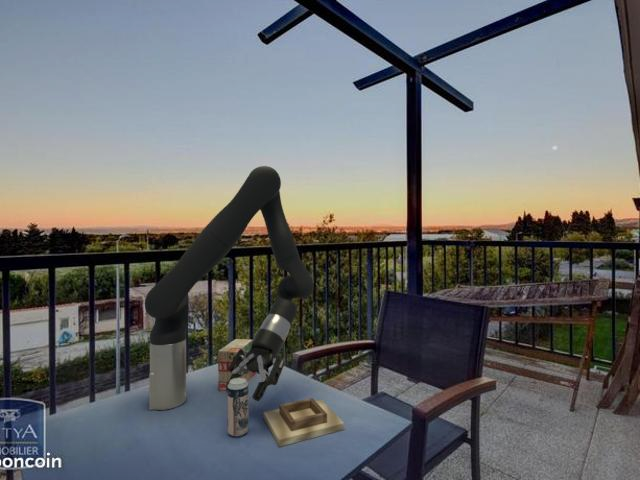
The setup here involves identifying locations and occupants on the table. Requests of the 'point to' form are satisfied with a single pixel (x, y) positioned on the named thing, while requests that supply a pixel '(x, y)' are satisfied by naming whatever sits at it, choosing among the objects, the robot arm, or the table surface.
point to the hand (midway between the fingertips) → (241, 395)
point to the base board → (302, 421)
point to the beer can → (238, 407)
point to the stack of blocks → (226, 359)
